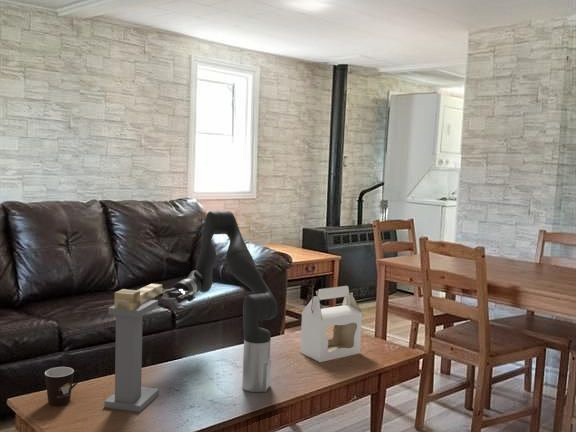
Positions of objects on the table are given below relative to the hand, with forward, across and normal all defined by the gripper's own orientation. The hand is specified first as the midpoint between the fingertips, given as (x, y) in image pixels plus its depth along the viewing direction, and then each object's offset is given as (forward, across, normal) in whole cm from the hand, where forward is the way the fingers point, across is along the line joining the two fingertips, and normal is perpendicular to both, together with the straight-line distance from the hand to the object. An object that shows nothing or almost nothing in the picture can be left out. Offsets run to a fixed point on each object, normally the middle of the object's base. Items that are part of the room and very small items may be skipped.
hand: (167, 299), depth 212 cm
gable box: (-42, +55, +28) cm, 75 cm away
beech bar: (+21, 0, -4) cm, 22 cm away
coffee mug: (+33, -20, +28) cm, 48 cm away
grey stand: (+26, 0, +28) cm, 38 cm away
